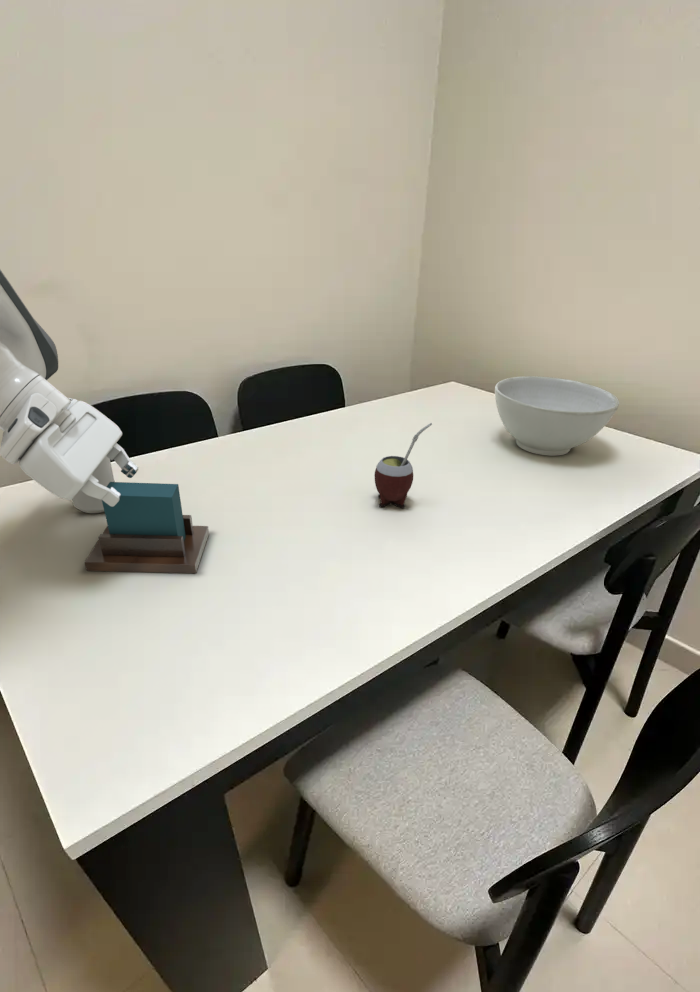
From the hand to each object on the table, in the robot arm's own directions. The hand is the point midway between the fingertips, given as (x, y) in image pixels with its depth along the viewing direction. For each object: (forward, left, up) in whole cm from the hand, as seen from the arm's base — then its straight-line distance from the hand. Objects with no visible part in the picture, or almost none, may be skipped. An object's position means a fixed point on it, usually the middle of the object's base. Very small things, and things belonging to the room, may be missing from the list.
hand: (126, 487), depth 84 cm
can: (-11, +15, -11) cm, 21 cm away
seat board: (+2, 0, -11) cm, 11 cm away
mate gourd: (+42, +20, -11) cm, 48 cm away
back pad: (+2, 0, -9) cm, 9 cm away
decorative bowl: (+80, +52, -11) cm, 96 cm away
